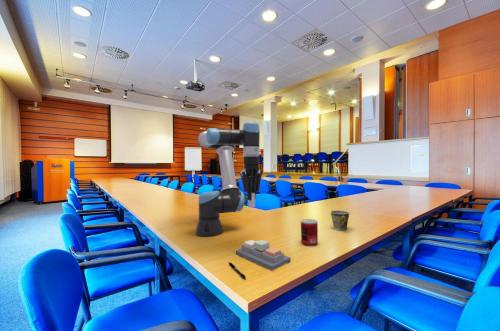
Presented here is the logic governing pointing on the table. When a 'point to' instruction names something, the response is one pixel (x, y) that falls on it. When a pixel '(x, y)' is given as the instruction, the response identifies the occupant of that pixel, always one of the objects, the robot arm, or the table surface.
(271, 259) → the keypad
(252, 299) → the table surface
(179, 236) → the table surface
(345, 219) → the ceramic cup
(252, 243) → the key ivory
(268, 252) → the key terracotta
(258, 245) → the key green
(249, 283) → the table surface
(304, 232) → the canned food
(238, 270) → the pen
